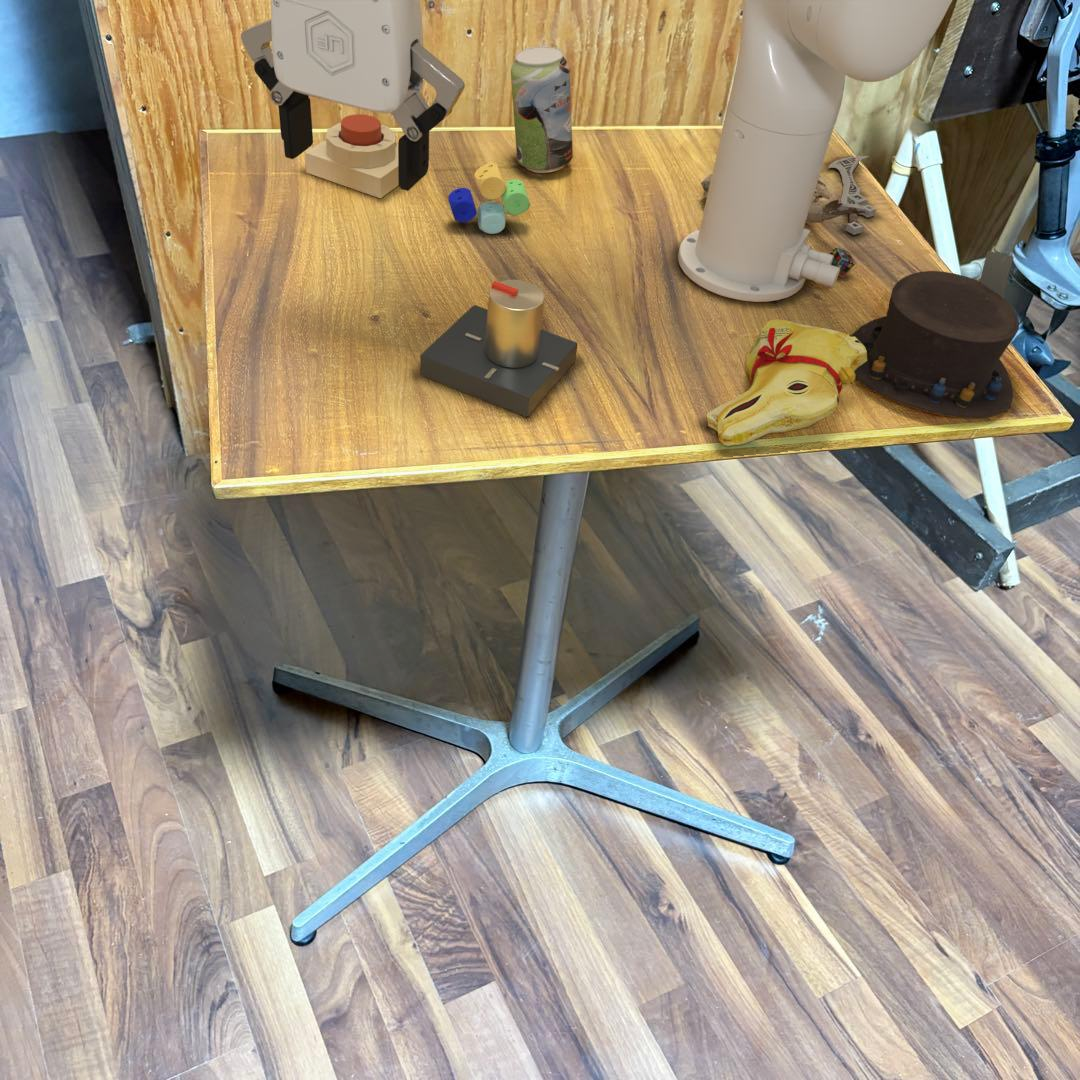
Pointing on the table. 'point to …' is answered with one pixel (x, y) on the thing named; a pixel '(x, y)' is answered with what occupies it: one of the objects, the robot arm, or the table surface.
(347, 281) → the table surface
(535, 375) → the dial panel
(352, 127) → the red push button
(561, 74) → the beverage can
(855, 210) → the prawn
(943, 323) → the top hat
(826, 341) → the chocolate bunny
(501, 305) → the temp dial
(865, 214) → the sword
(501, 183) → the dice
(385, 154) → the button base
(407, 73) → the robot arm
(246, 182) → the table surface
